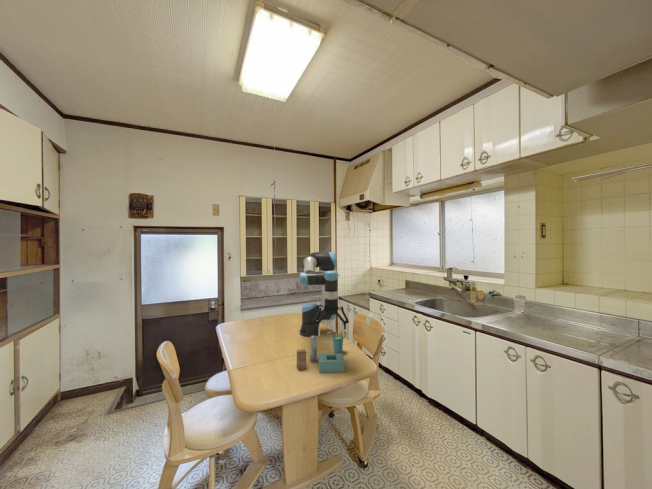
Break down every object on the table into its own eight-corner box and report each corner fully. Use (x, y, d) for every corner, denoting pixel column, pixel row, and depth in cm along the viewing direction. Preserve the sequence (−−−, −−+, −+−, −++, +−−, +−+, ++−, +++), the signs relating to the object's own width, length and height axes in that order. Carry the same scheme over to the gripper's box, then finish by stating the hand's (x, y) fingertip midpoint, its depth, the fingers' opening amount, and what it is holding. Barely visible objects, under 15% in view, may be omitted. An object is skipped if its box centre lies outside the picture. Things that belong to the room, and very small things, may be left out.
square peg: (296, 366, 145) (296, 349, 145) (304, 365, 146) (304, 348, 146) (298, 370, 141) (298, 352, 141) (306, 369, 142) (306, 351, 142)
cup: (330, 357, 156) (330, 333, 156) (324, 353, 163) (324, 329, 163) (349, 353, 163) (349, 329, 163) (342, 348, 170) (342, 326, 169)
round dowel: (310, 359, 154) (310, 335, 154) (316, 359, 154) (316, 334, 154) (310, 362, 150) (310, 337, 150) (317, 362, 150) (317, 337, 150)
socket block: (318, 364, 148) (318, 353, 148) (342, 363, 149) (342, 353, 149) (319, 372, 138) (319, 362, 138) (344, 372, 139) (344, 361, 139)
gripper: (309, 300, 139) (309, 338, 139) (353, 299, 140) (353, 337, 140) (309, 297, 146) (309, 333, 146) (351, 296, 147) (351, 332, 148)
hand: (331, 335), depth 143 cm, fingers open, 13 cm apart
